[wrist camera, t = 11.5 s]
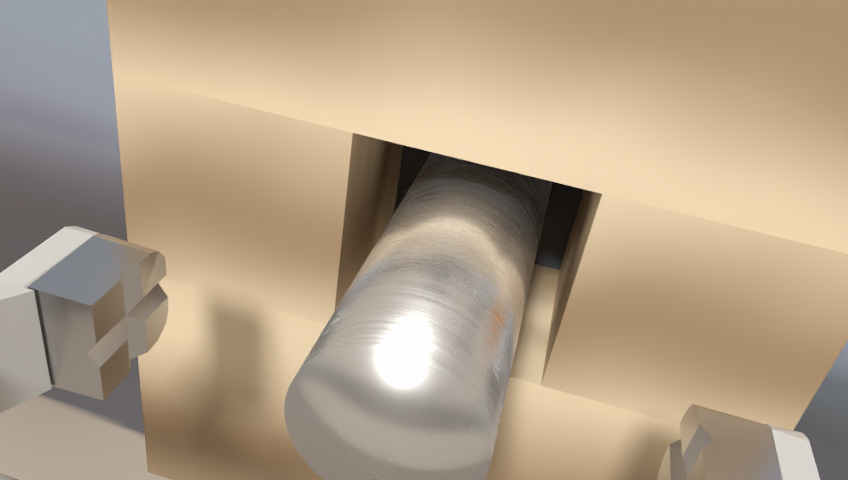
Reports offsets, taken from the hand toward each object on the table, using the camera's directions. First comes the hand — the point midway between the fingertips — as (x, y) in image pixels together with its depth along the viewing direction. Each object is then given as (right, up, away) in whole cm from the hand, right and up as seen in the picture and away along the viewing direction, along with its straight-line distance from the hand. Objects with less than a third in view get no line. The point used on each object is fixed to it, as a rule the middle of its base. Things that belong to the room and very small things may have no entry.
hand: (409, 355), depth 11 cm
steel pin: (+2, +3, +7) cm, 8 cm away
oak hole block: (+2, +3, +7) cm, 8 cm away
